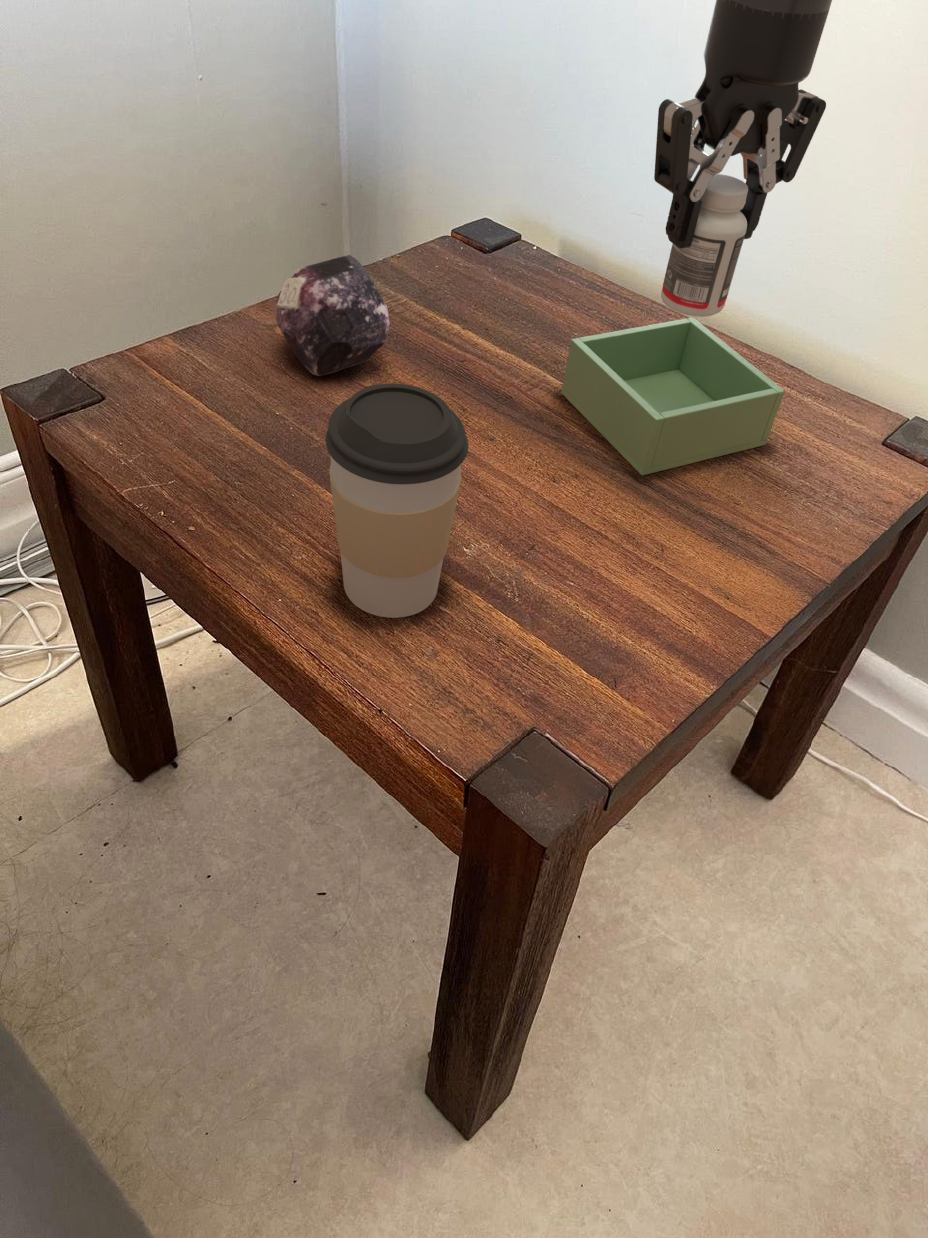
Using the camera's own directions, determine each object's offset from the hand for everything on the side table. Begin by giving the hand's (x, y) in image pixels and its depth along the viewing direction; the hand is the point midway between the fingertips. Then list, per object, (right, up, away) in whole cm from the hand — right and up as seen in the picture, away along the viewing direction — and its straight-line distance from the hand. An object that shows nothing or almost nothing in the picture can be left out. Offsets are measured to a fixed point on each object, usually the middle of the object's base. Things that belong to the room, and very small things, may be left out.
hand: (709, 238), depth 77 cm
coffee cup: (-25, -28, -7) cm, 38 cm away
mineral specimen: (-32, -6, +15) cm, 36 cm away
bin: (-1, -12, +12) cm, 17 cm away
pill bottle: (-1, -4, +4) cm, 6 cm away
